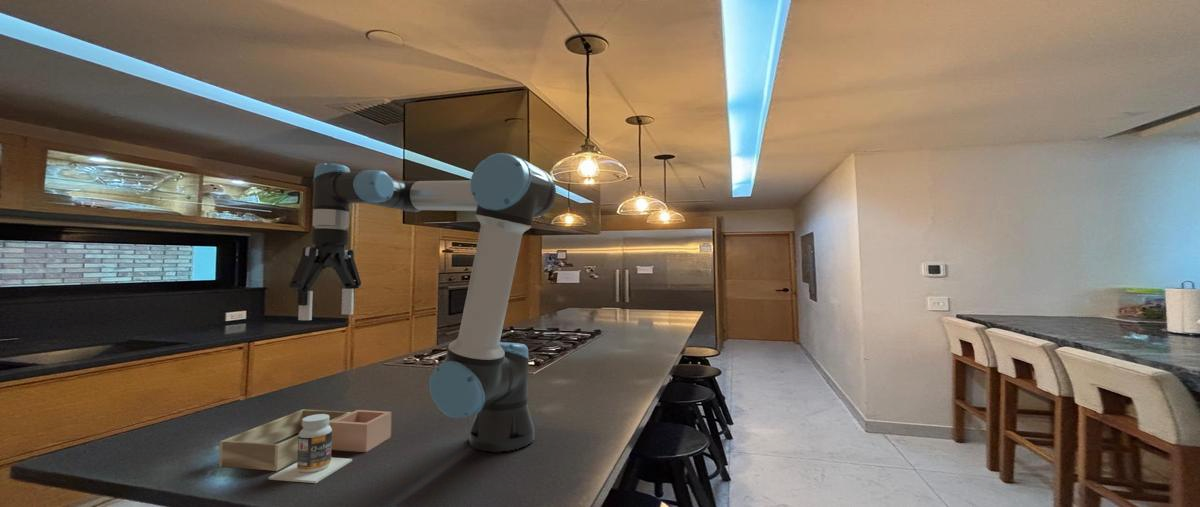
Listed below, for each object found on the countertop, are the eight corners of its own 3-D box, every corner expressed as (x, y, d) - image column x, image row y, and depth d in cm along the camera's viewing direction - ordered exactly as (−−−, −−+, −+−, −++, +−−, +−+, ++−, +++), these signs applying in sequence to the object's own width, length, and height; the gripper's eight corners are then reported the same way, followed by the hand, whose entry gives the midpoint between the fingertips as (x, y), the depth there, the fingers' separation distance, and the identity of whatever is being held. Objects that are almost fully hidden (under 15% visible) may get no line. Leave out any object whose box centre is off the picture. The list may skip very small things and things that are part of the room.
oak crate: (302, 429, 111) (303, 409, 111) (350, 432, 109) (351, 412, 110) (219, 466, 90) (220, 441, 90) (277, 470, 88) (278, 445, 89)
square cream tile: (352, 460, 93) (352, 458, 93) (315, 483, 83) (315, 481, 83) (309, 457, 95) (309, 455, 95) (268, 479, 85) (268, 477, 85)
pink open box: (390, 437, 107) (391, 411, 107) (366, 452, 98) (367, 424, 98) (356, 434, 108) (357, 409, 108) (329, 449, 99) (330, 422, 99)
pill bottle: (314, 475, 86) (316, 423, 86) (289, 472, 87) (291, 421, 87) (337, 462, 91) (339, 414, 92) (313, 460, 93) (315, 412, 93)
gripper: (351, 233, 120) (349, 311, 119) (271, 223, 95) (268, 322, 95) (377, 233, 119) (375, 312, 118) (303, 223, 94) (299, 323, 94)
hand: (327, 317), depth 106 cm, fingers open, 13 cm apart
